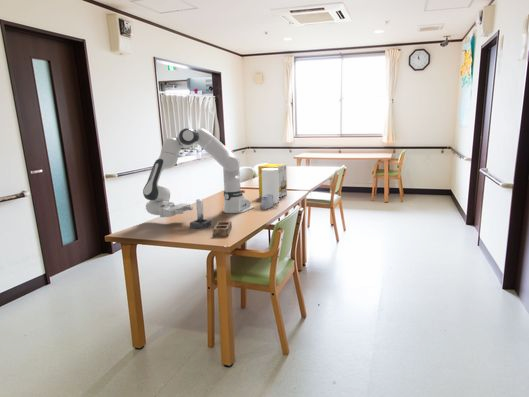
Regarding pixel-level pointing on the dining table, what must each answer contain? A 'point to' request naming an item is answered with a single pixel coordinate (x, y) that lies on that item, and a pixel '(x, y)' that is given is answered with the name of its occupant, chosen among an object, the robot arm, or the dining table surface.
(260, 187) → the packaging box
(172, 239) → the dining table surface
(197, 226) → the socket block
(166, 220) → the dining table surface
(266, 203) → the medicine box
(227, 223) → the tool rack
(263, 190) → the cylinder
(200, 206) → the rod
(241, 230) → the dining table surface
